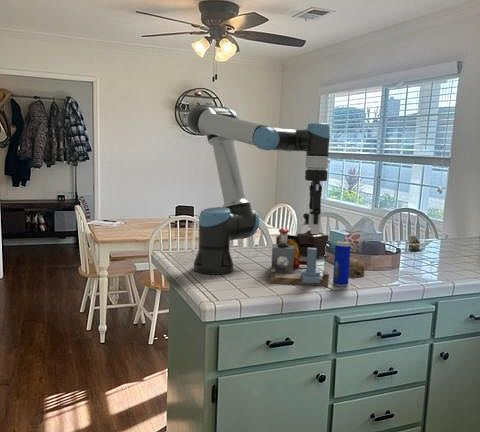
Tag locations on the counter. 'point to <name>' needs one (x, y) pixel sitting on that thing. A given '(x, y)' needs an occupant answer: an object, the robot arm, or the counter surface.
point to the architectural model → (414, 243)
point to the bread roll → (355, 268)
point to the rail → (296, 278)
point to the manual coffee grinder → (313, 240)
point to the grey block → (282, 259)
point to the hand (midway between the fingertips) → (313, 230)
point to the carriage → (311, 268)
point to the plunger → (283, 237)
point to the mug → (296, 248)
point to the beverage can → (341, 263)
